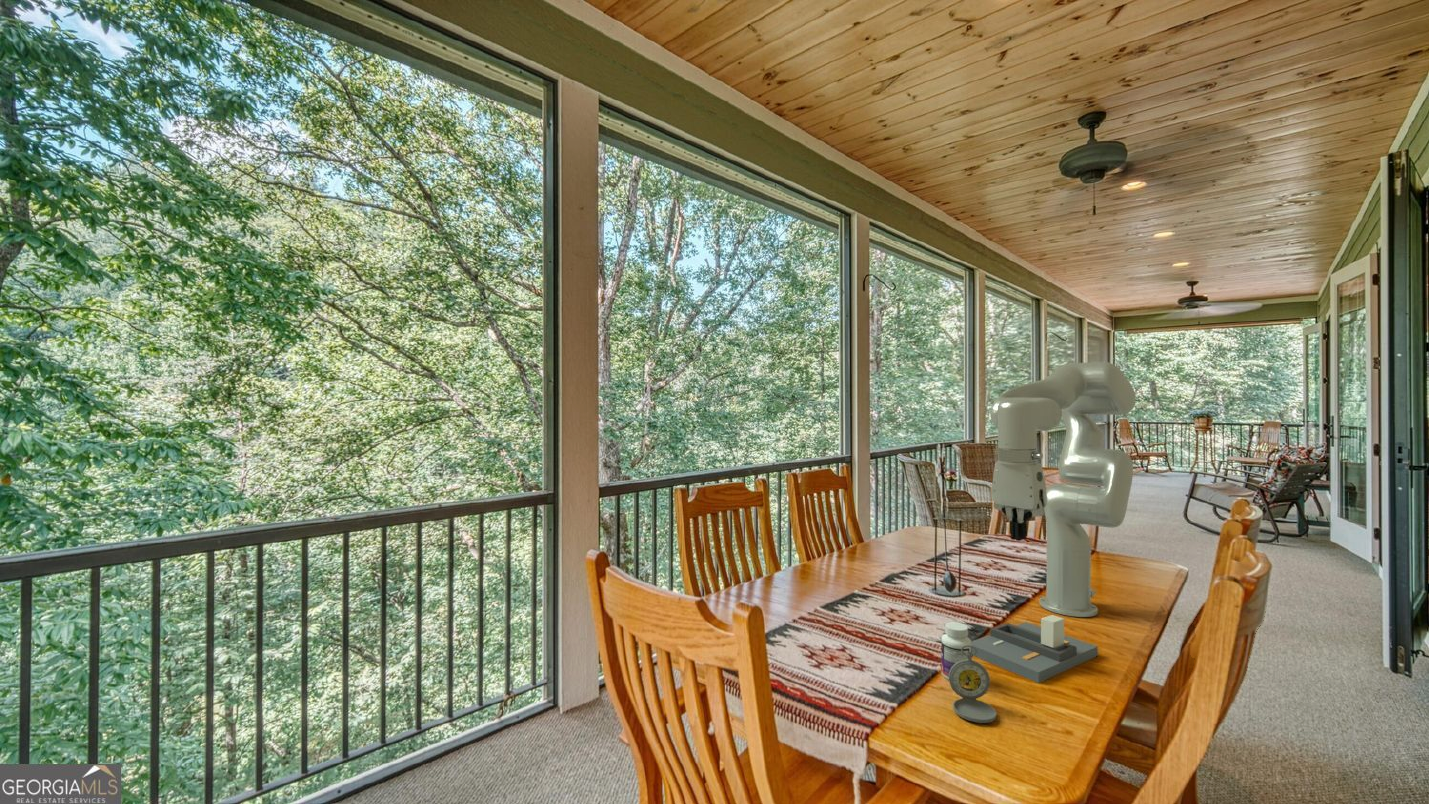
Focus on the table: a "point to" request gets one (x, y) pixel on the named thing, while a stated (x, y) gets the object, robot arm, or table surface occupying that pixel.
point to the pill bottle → (954, 646)
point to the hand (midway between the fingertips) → (1018, 538)
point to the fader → (1052, 632)
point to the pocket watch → (971, 690)
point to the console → (1030, 651)
